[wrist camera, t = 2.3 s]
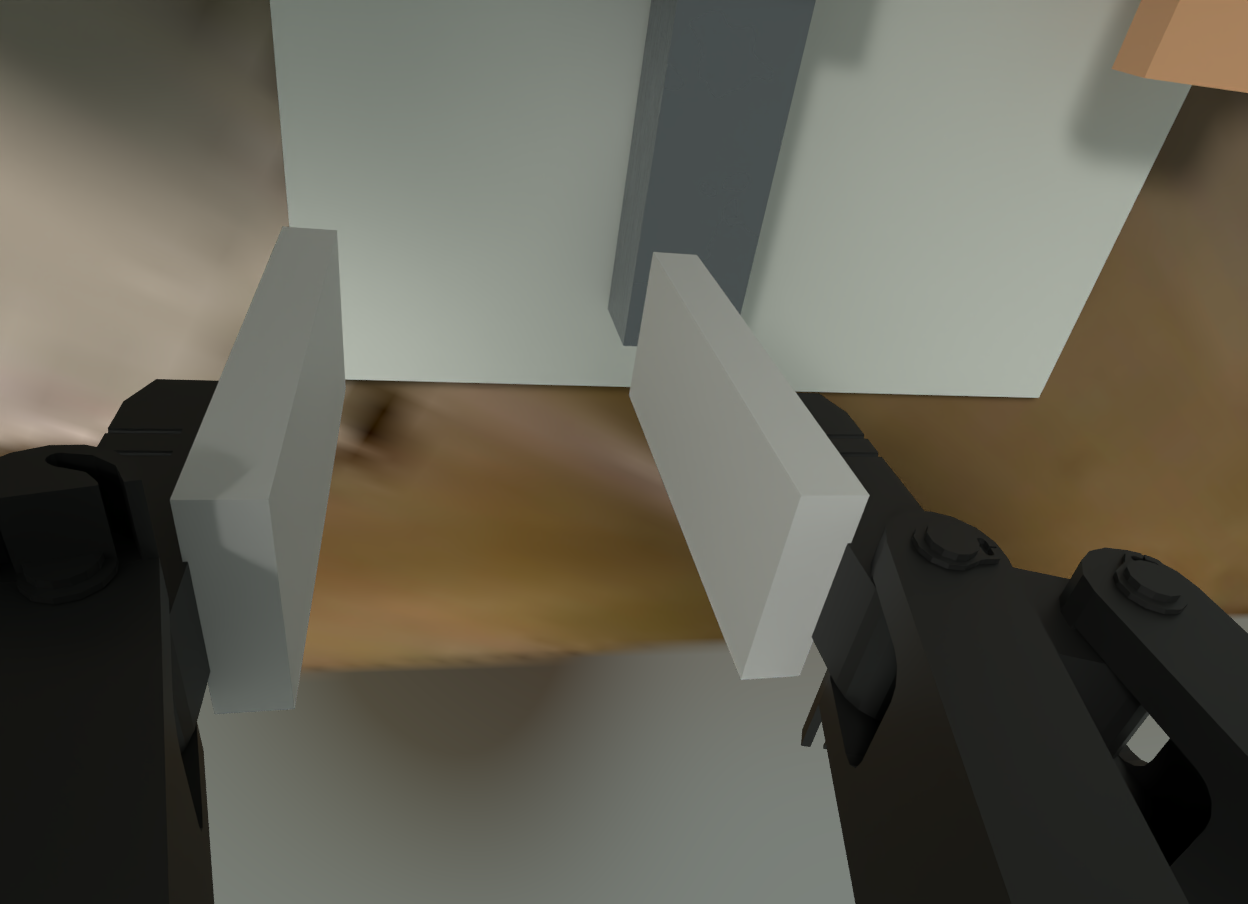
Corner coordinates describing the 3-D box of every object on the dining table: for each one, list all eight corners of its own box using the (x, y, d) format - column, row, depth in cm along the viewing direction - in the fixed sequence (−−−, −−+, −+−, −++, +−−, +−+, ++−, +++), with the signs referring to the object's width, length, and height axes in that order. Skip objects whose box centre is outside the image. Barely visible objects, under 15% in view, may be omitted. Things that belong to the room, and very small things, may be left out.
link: (658, -330, 21) (702, -369, 17) (871, -277, 22) (947, -304, 19) (581, 307, 30) (599, 358, 27) (732, 315, 32) (767, 364, 28)
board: (225, -611, 18) (214, -639, 17) (1338, -282, 25) (1374, -289, 24) (306, 362, 31) (302, 378, 30) (1023, 384, 39) (1038, 397, 38)
